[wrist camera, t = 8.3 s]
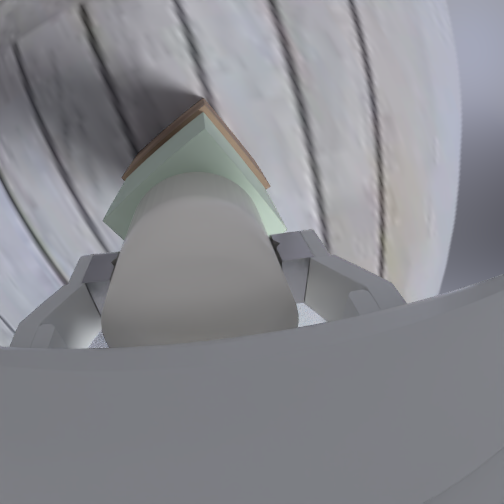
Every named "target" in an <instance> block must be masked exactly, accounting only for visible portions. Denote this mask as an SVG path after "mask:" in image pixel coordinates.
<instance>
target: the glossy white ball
mask: <svg viewBox="0 0 504 504" xmlns="http://www.w3.org/2000/svg"><path fill="white" fill-rule="evenodd" d="M101 326H102V332H103V335H104V338H105V341H106V342H107V344H108V346H109V348H117V347H137V346H152V345H165V344H177V343H188V342H198V341H207V340H215V339H224V338H232V337H239V336H247V335H254V334H261V333H267V332H274V331H280V330H286V329H292V328H298V310H297V306H296V303H295V300H294V298H293V295H292V293H291V290H290V288H289V285H288V283H287V280H286V278H285V275H284V273H283V270H282V268H281V266H280V263H279V261H278V258H277V256H276V253H275V251H274V248H273V246H272V243H271V241H270V239H269V236H268V234H267V231H266V229H265V226H264V224H263V222H262V219H261V217H260V214H259V212H258V210H257V208H256V205H255V203H254V202H253V200H252V199H251V197H250V196H249V195H248V194H247V192H246V191H245V190H244V189H242V188H241V187H240V186H239V185H238V184H236V183H234V182H233V181H231V180H229V179H227V178H225V177H223V176H220V175H216V174H212V173H207V172H187V173H182V174H177V175H174V176H171V177H169V178H166V179H164V180H163V181H161V182H159V183H158V184H156V185H155V186H153V187H152V188H151V189H150V190H149V191H148V192H147V193H146V194H145V195H144V196H143V198H142V199H141V200H140V202H139V204H138V206H137V207H136V210H135V213H134V215H133V218H132V220H131V223H130V226H129V228H128V231H127V234H126V237H125V240H124V242H123V245H122V248H121V251H120V254H119V257H118V260H117V263H116V266H115V269H114V272H113V276H112V279H111V282H110V285H109V289H108V292H107V296H106V299H105V303H104V306H103V310H102V315H101Z"/></svg>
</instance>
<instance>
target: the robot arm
mask: <svg viewBox="0 0 504 504" xmlns="http://www.w3.org/2000/svg"><path fill="white" fill-rule="evenodd" d="M269 239H270V241H271V243H272V246H273V248H274V251H275V253H276V256H277V258H278V261H279V263H280V266H281V268H282V270H283V273H284V275H285V278H286V280H287V283H288V285H289V288H290V290H291V293H292V295H293V298H294V300H295V303H304V302H305V303H304V304H306V305H307V306H308V307H310V308H311V309H312V310H313V311H315V312H316V313H317V314H318V315H320V316H321V317H322V318H324V319H325V320H326V321H327V322H325V323H320V324H315V325H309V326H304V327H298V328H292V329H286V330H280V331H274V332H267V333H261V334H254V335H247V336H239V337H232V338H224V339H215V340H207V341H198V342H188V343H177V344H165V345H152V346H137V347H117V348H88V347H89V346H90V344H91V343H92V342H93V340H94V339H95V338H96V337H97V335H98V334H99V333H100V331H101V330H102V326H101V315H102V310H103V306H104V303H105V299H106V296H107V292H108V289H109V285H110V282H111V279H112V276H113V272H114V269H115V266H116V263H117V260H118V257H119V254H120V252H111V253H101V254H91V255H85V256H82V257H80V259H79V261H78V263H77V265H76V267H75V270H74V272H73V274H72V276H71V278H70V281H69V283H68V285H64V286H62V287H61V288H60V289H59V290H58V291H56V292H55V293H54V294H53V295H52V296H50V297H49V298H48V299H47V300H46V301H44V302H43V303H42V304H41V305H40V306H39V307H37V308H36V309H35V310H34V311H33V312H32V313H31V314H29V315H28V316H27V317H26V318H25V319H24V320H23V321H22V322H20V323H19V325H18V327H17V330H16V332H15V334H14V337H13V339H12V342H11V344H10V347H0V504H504V274H502V275H500V276H497V277H494V278H491V279H489V280H485V281H482V282H480V283H476V284H473V285H470V286H467V287H465V288H461V289H458V290H455V291H451V292H448V293H444V294H441V295H437V296H434V297H430V298H427V299H423V300H420V301H416V302H412V303H408V304H407V303H406V301H405V300H404V299H403V297H402V296H401V295H400V293H399V292H398V290H397V289H396V288H395V286H394V285H393V284H392V283H391V282H389V281H387V280H385V279H383V278H381V277H379V276H377V275H375V274H373V273H371V272H369V271H367V270H365V269H363V268H361V267H359V266H357V265H355V264H353V263H351V262H349V261H347V260H344V259H342V258H340V257H338V256H336V255H330V254H329V252H328V251H327V249H326V248H325V246H324V245H323V243H322V242H321V240H320V239H319V237H318V236H317V234H316V233H315V231H314V230H312V229H310V230H303V231H296V232H288V233H280V234H273V235H269Z"/></svg>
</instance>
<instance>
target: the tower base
mask: <svg viewBox="0 0 504 504" xmlns="http://www.w3.org/2000/svg"><path fill="white" fill-rule="evenodd" d="M202 112H204V113H205V114H206V116H207V117H208V118H209V119H210V120H211V121H212V123H213V124H214V125H215V126H216V127H217V129H218V130H219V131H220V132H221V133H222V135H223V136H224V137H225V138H226V140H227V141H228V142H229V143H230V144H231V146H232V147H233V148H234V149H235V151H236V152H237V153H238V154H239V156H240V157H241V158H242V159H243V161H244V162H245V163H246V164H247V166H248V167H249V168H250V169H251V171H252V172H253V173H254V174H255V176H256V177H257V178H258V180H259V181H260V182H261V183H262V185H263V186H264V188H265V189H267V188H269V187H270V185H269V183H268V181H267V180H266V178H265V176H264V175H263V173H262V172H261V170H260V168H259V167H258V165H257V163H256V162H255V160H254V159H253V158H252V157H251V155H250V154H249V153H248V152H247V150H246V149H245V148H244V146H243V145H242V144H241V143H240V141H239V140H238V139H237V138H236V137H235V135H234V134H233V133H232V132H231V130H230V129H229V128H228V127H227V125H226V124H225V123H224V122H223V121H222V119H221V118H220V117H219V116H218V115H217V113H216V112H215V111H214V110H213V109H212V107H211V106H210V105H209V104H208V103H207V102H206V100H205V99H204V98H203V99H201V100H200V101H199V102H197V103H196V104H195V105H194V106H192V107H191V108H190V109H189V110H187V111H186V112H185V113H184V114H182V115H181V116H180V117H179V118H178V119H176V120H175V121H174V122H173V123H172V124H170V125H169V126H168V127H167V128H166V129H165V130H163V131H162V132H161V133H160V134H159V135H158V136H157V137H155V138H154V139H153V140H152V141H151V142H150V143H149V144H148V145H147V146H146V147H144V148H143V149H142V150H141V151H140V152H139V153H138V154H137V155H136V157H135V158H134V160H133V161H132V163H131V164H130V166H129V167H128V169H127V170H126V172H125V173H124V175H123V176H122V179H123V180H124V181H125V180H126V178H127V177H128V176H129V175H130V174H131V173H132V172H134V171H135V170H136V169H137V168H138V167H139V166H140V165H141V164H142V163H143V162H144V161H145V160H146V159H147V158H149V157H150V156H151V155H152V154H153V153H154V152H155V151H156V150H158V149H159V148H160V147H161V146H162V145H163V144H164V143H166V142H167V141H168V140H169V139H170V138H171V137H173V136H174V135H175V134H176V133H177V132H179V131H180V130H181V129H182V128H183V127H185V126H186V125H187V124H188V123H190V122H191V121H192V120H193V119H195V118H196V117H197V116H198V115H200V114H201V113H202Z"/></svg>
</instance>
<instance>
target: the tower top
mask: <svg viewBox="0 0 504 504" xmlns="http://www.w3.org/2000/svg"><path fill="white" fill-rule="evenodd" d="M187 172H207V173H212V174H216V175H220V176H223V177H225V178H227V179H229V180H231V181H233V182H234V183H236V184H238V185H239V186H240V187H241V188H242V189H244V190H245V191H246V192H247V194H248V195H249V196H250V197H251V199H252V200H253V202H254V203H255V205H256V208H257V210H258V212H259V214H260V217H261V219H262V222H263V224H264V226H265V229H266V231H267V234H268V236H269V235H273V234H280V233H284V232H285V231H287V228H286V226H285V225H284V223H283V221H282V219H281V217H280V215H279V213H278V211H277V210H276V208H275V206H274V204H273V202H272V200H271V199H270V197H269V195H268V193H267V191H266V189H265V188H264V186H263V185H262V183H261V182H260V181H259V180H258V178H257V177H256V176H255V174H254V173H253V172H252V171H251V169H250V168H249V167H248V166H247V164H246V163H245V162H244V161H243V159H242V158H241V157H240V156H239V154H238V153H237V152H236V151H235V149H234V148H233V147H232V146H231V144H230V143H229V142H228V141H227V140H226V138H225V137H224V136H223V135H222V133H221V132H220V131H219V130H218V129H217V127H216V126H215V125H214V124H213V123H212V121H211V120H210V119H209V118H208V117H207V116H206V114H205V113H204V112H202V113H201V114H200V115H198V116H197V117H196V118H195V119H193V120H192V121H191V122H190V123H188V124H187V125H186V126H185V127H183V128H182V129H181V130H180V131H179V132H177V133H176V134H175V135H174V136H173V137H171V138H170V139H169V140H168V141H167V142H166V143H164V144H163V145H162V146H161V147H160V148H159V149H158V150H156V151H155V152H154V153H153V154H152V155H151V156H150V157H149V158H147V159H146V160H145V161H144V162H143V163H142V164H141V165H140V166H139V167H138V168H137V169H136V170H135V171H134V172H132V173H131V174H130V175H129V176H128V177H127V178H126V180H125V182H124V183H123V185H122V187H121V189H120V190H119V192H118V194H117V195H116V197H115V199H114V201H113V203H112V204H111V206H110V208H109V210H108V212H107V213H106V215H105V217H104V219H103V222H104V223H105V224H107V225H108V226H109V227H110V228H111V229H112V230H113V231H114V232H115V233H116V234H118V235H119V236H120V237H121V238H122V239H123V240H125V237H126V234H127V231H128V228H129V226H130V223H131V220H132V218H133V215H134V213H135V210H136V207H137V206H138V204H139V202H140V200H141V199H142V198H143V196H144V195H145V194H146V193H147V192H148V191H149V190H150V189H151V188H152V187H153V186H155V185H156V184H158V183H159V182H161V181H163V180H164V179H166V178H169V177H171V176H174V175H177V174H182V173H187Z"/></svg>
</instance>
